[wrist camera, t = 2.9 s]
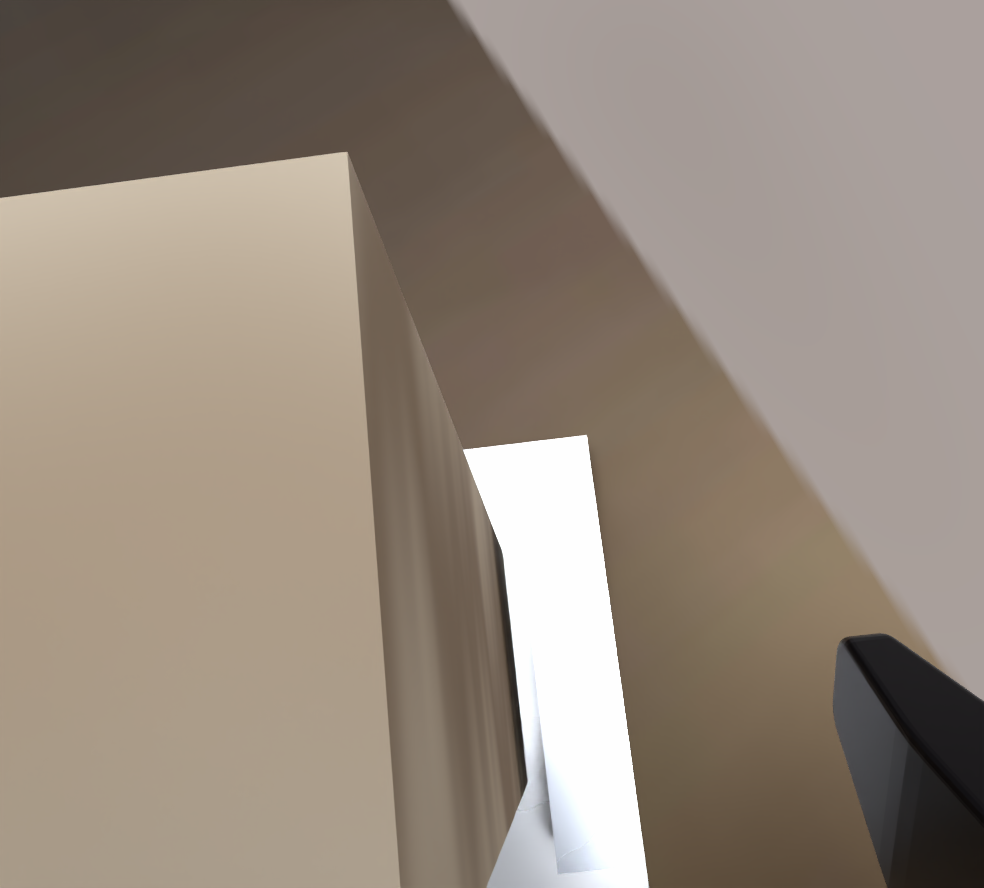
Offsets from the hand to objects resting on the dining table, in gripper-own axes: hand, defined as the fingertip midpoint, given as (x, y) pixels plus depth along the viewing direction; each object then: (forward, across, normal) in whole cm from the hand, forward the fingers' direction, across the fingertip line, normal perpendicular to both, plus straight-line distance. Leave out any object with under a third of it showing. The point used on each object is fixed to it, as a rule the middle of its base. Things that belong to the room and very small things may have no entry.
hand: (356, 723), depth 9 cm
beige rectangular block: (+6, 0, +5) cm, 8 cm away
